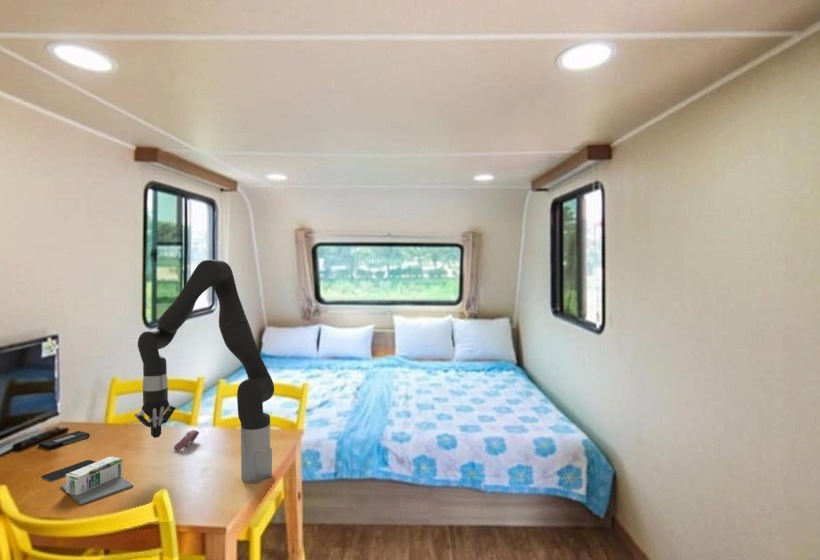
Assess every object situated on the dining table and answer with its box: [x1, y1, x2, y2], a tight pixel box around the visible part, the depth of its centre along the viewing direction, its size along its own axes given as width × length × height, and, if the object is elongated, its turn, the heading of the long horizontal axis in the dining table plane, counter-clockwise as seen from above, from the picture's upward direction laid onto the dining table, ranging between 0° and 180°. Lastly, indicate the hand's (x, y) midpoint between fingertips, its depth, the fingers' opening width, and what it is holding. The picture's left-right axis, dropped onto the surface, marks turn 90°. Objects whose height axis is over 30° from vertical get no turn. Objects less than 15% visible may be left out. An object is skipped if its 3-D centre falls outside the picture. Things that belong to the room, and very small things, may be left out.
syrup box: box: [65, 456, 124, 495], centre depth 144 cm, size 6×6×14 cm
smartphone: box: [40, 459, 96, 482], centre depth 155 cm, size 7×1×15 cm
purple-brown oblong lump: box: [173, 429, 200, 452], centre depth 176 cm, size 10×5×7 cm, turn 0°
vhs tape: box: [38, 430, 90, 451], centre depth 180 cm, size 8×14×2 cm, turn 156°
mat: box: [60, 475, 134, 506], centre depth 143 cm, size 18×14×1 cm
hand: (156, 436), depth 156 cm, fingers closed
